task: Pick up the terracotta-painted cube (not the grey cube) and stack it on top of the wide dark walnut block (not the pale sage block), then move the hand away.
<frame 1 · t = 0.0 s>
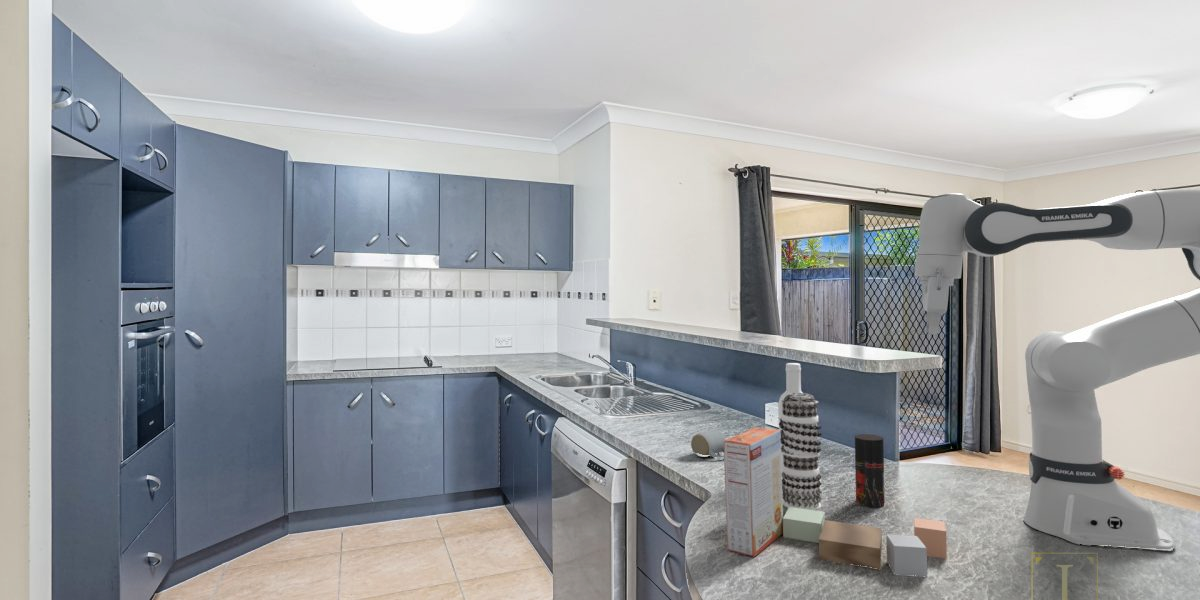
hand: (931, 333, 129), 39 cm above the countertop, tool pointing down, fingers open, 8 cm apart
walnut block: (851, 555, 109), on the countertop
deodorant: (870, 504, 135), on the countertop
bottle: (795, 480, 153), on the countertop
ceramic mug: (712, 457, 177), on the countertop
sage block: (804, 534, 119), on the countertop
grey cube: (906, 569, 103), on the countertop
decorative candle: (801, 505, 135), on the countertop
terracotta cube: (930, 551, 110), on the countertop
cracker box: (755, 543, 115), on the countertop
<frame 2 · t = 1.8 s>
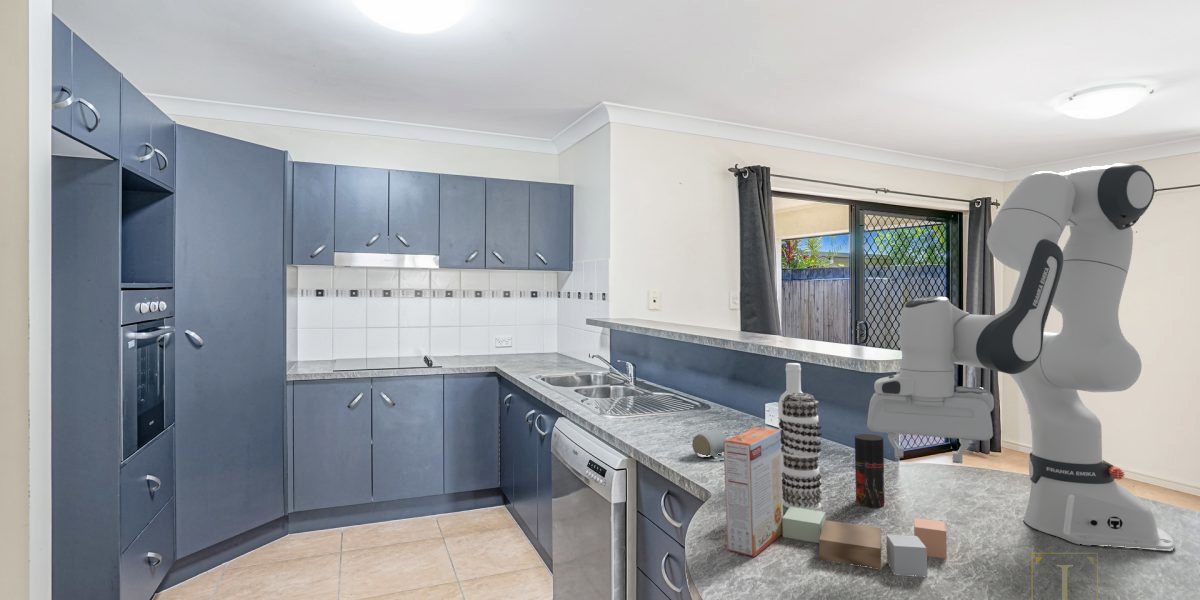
hand: (927, 459, 110), 17 cm above the countertop, tool pointing down, fingers open, 8 cm apart
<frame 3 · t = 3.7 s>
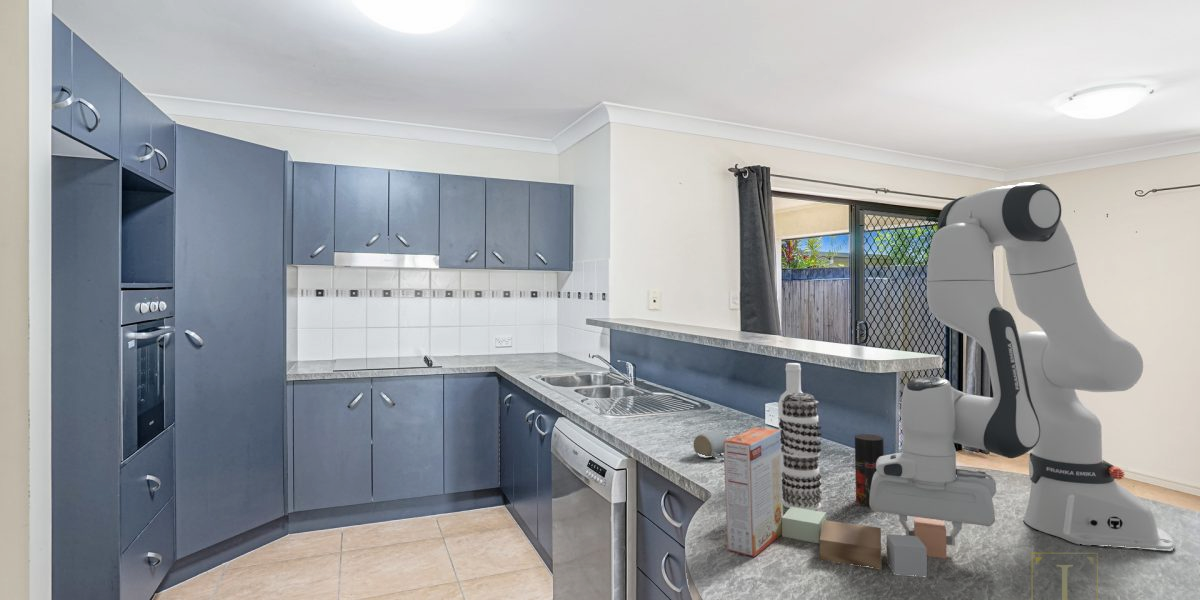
hand: (929, 541, 110), 2 cm above the countertop, tool pointing down, fingers closed on terracotta cube, 5 cm apart
terracotta cube: (930, 550, 110), on the countertop, touching gripper
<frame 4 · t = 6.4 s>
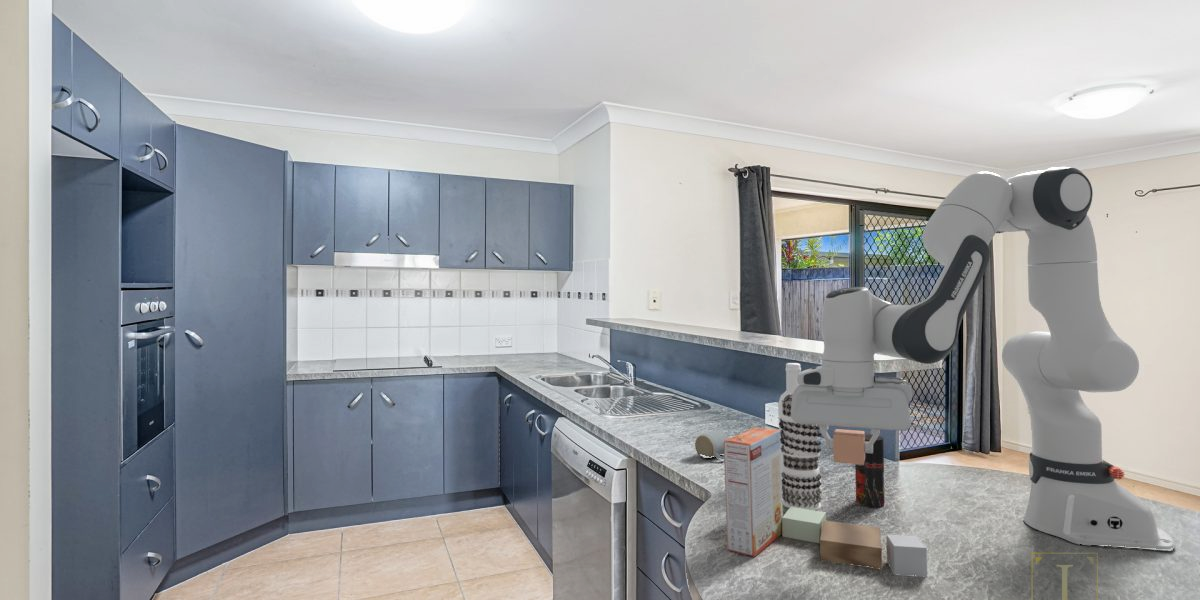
hand: (849, 450, 109), 19 cm above the countertop, tool pointing down, fingers closed on terracotta cube, 5 cm apart
terracotta cube: (849, 460, 109), point 17 cm above the countertop, touching gripper
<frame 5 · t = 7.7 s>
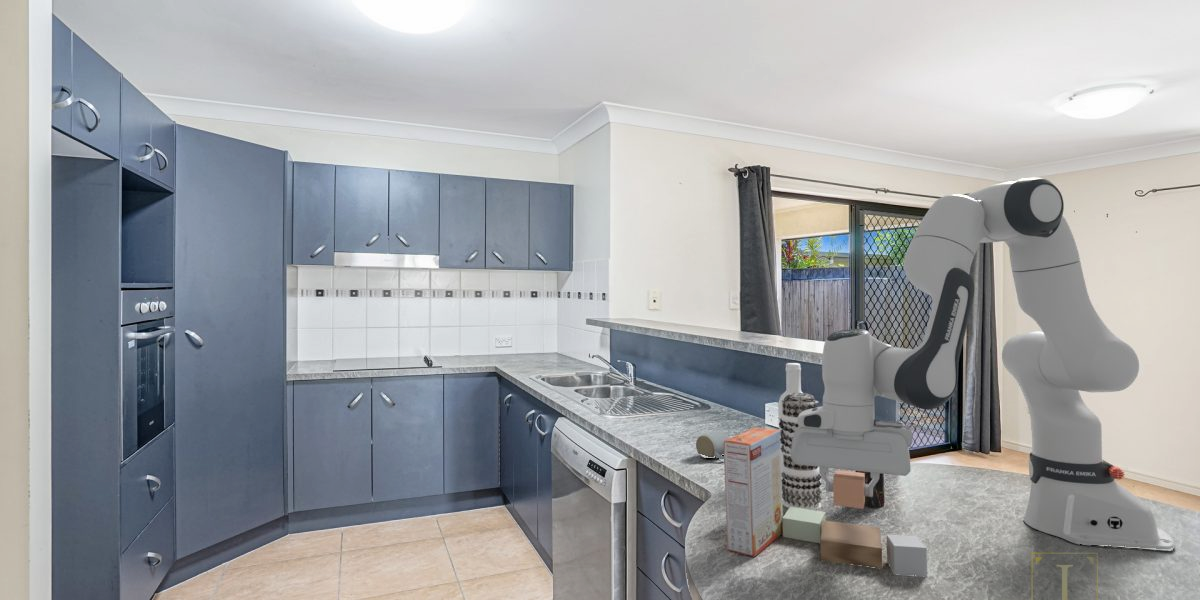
hand: (849, 493, 109), 11 cm above the countertop, tool pointing down, fingers closed on terracotta cube, 5 cm apart
terracotta cube: (849, 502, 109), point 9 cm above the countertop, touching gripper
when the fingers open (7 cm above the countertop, at t = 9.0 s): terracotta cube drops 1 cm, resting on walnut block.
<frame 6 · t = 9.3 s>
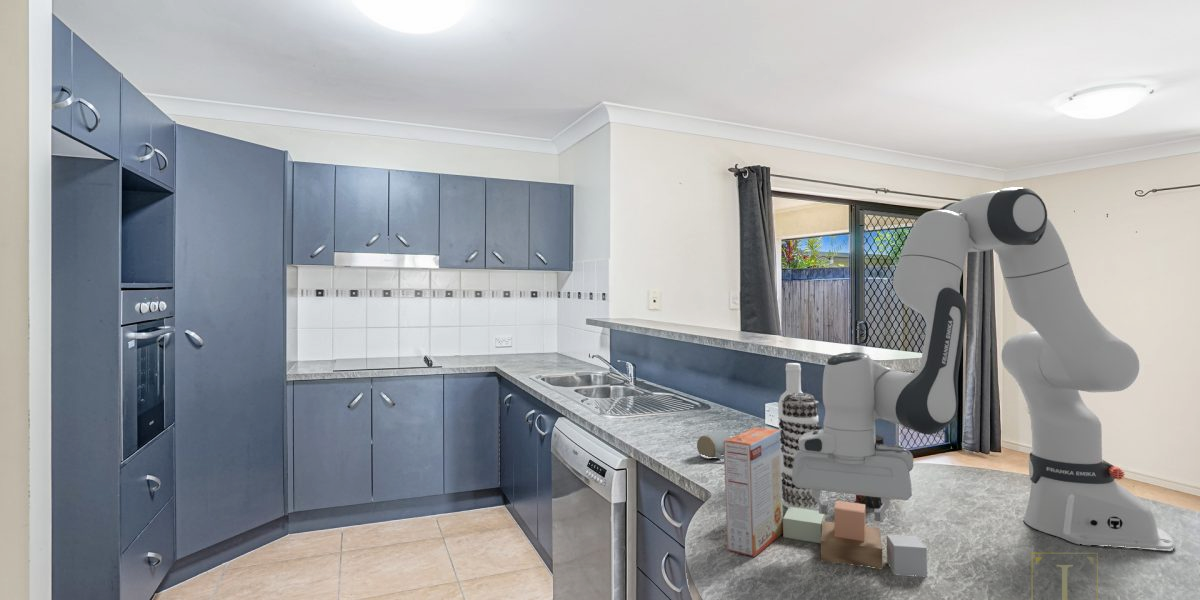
hand: (850, 516, 109), 7 cm above the countertop, tool pointing down, fingers open, 8 cm apart
walnut block: (851, 555, 109), on the countertop, touching terracotta cube
terracotta cube: (850, 533, 109), point 4 cm above the countertop, touching walnut block
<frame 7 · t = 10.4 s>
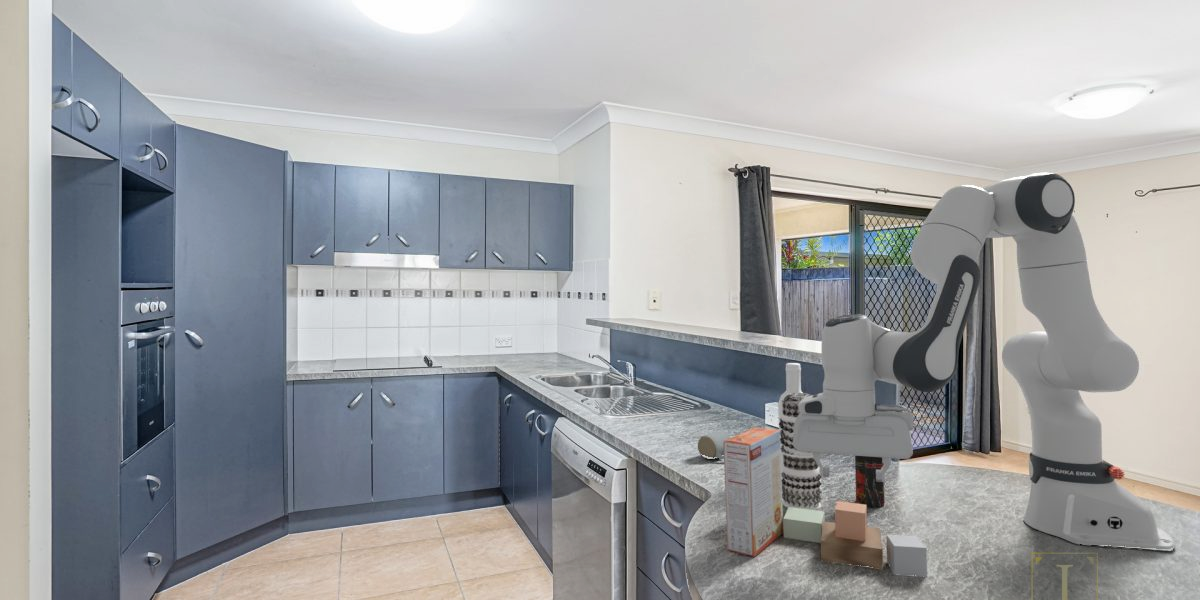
hand: (852, 478, 109), 14 cm above the countertop, tool pointing down, fingers open, 8 cm apart
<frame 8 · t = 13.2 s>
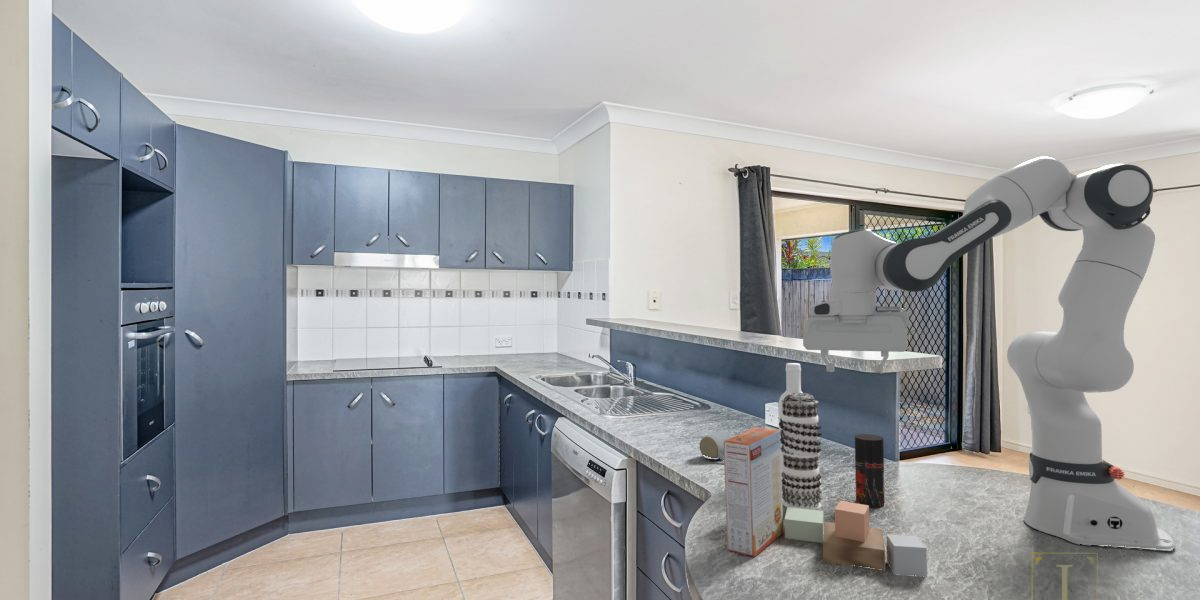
hand: (854, 372, 125), 31 cm above the countertop, tool pointing down, fingers open, 8 cm apart
at the end: terracotta cube inside the target area on the walnut block (0.4 cm from its centre), point 4.0 cm above the walnut block's base; terracotta cube tilted 0°; the gripper is holding nothing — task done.
